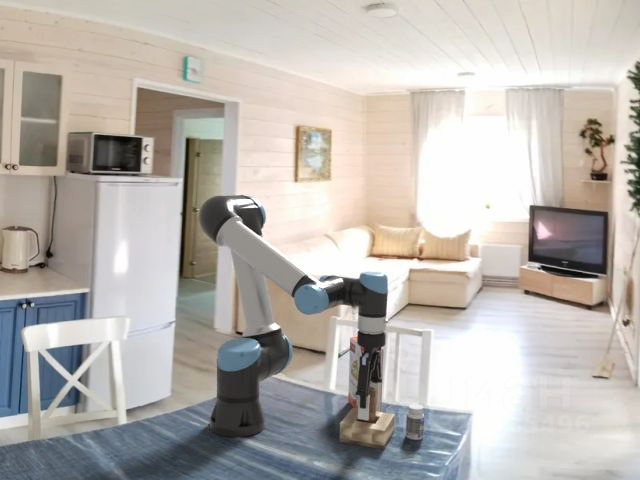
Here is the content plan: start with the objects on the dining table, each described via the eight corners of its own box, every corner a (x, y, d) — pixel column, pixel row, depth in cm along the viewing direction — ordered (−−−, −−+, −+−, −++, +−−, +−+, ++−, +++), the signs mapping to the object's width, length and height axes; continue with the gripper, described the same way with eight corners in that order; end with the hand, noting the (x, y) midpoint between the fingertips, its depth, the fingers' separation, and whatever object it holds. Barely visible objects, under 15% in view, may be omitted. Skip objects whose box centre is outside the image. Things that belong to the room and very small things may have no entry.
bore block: (339, 441, 157) (340, 423, 156) (352, 424, 168) (353, 407, 168) (383, 449, 153) (384, 430, 152) (394, 431, 164) (394, 414, 164)
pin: (358, 434, 159) (360, 390, 158) (362, 428, 163) (363, 386, 162) (372, 436, 158) (374, 392, 157) (376, 431, 162) (378, 388, 161)
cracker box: (346, 402, 185) (349, 336, 183) (364, 400, 187) (367, 335, 185) (362, 419, 172) (365, 349, 170) (381, 418, 173) (384, 348, 171)
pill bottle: (422, 441, 159) (424, 410, 158) (405, 439, 160) (406, 408, 159) (423, 433, 163) (425, 404, 163) (406, 431, 164) (407, 402, 163)
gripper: (375, 342, 146) (371, 430, 148) (394, 323, 167) (391, 400, 169) (345, 338, 148) (342, 425, 151) (368, 320, 169) (365, 396, 171)
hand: (368, 412), depth 160 cm, fingers open, 9 cm apart
